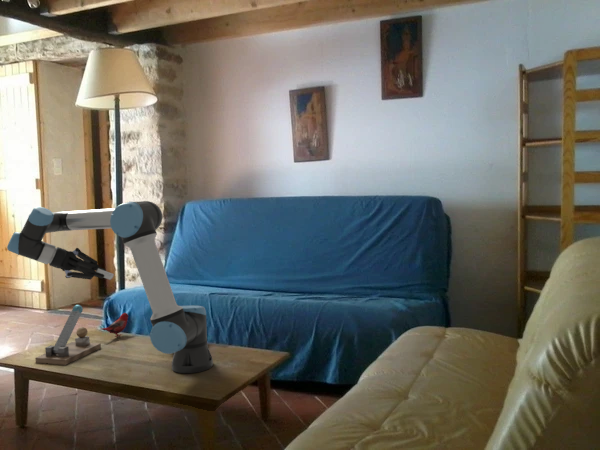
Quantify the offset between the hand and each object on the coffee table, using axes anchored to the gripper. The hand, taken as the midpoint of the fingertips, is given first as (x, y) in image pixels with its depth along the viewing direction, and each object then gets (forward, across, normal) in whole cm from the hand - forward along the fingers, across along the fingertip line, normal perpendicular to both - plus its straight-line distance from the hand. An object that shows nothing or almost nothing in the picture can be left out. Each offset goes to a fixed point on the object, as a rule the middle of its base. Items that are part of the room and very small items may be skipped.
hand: (112, 276), depth 216 cm
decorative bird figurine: (+19, +6, -40) cm, 45 cm away
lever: (-6, +24, -27) cm, 37 cm away
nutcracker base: (0, +23, -32) cm, 39 cm away
